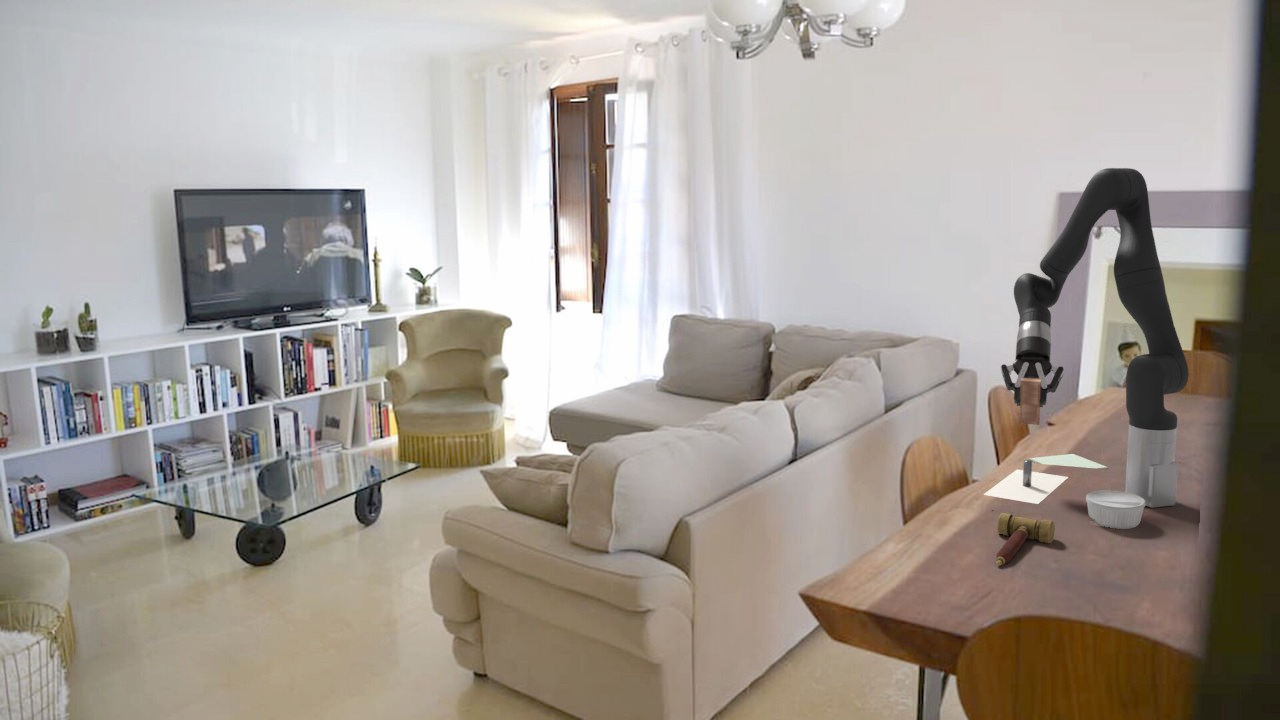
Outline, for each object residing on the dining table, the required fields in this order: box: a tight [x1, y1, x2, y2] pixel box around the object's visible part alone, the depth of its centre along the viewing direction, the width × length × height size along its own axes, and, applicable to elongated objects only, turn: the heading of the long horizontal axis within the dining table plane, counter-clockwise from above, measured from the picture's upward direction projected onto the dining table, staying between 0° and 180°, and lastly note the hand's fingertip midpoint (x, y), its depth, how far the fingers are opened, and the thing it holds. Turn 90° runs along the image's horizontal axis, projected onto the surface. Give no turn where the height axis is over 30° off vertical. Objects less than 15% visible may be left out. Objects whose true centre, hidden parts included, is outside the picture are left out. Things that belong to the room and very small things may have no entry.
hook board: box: [982, 459, 1069, 505], centre depth 218 cm, size 24×12×7 cm, turn 141°
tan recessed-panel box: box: [1018, 378, 1041, 426], centre depth 215 cm, size 4×4×10 cm
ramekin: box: [1085, 489, 1146, 530], centre depth 196 cm, size 11×11×5 cm
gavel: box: [995, 512, 1056, 567], centre depth 183 cm, size 21×5×10 cm
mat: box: [1028, 453, 1109, 470], centre depth 238 cm, size 13×13×1 cm
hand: (1029, 404), depth 214 cm, fingers closed on tan recessed-panel box, 4 cm apart
